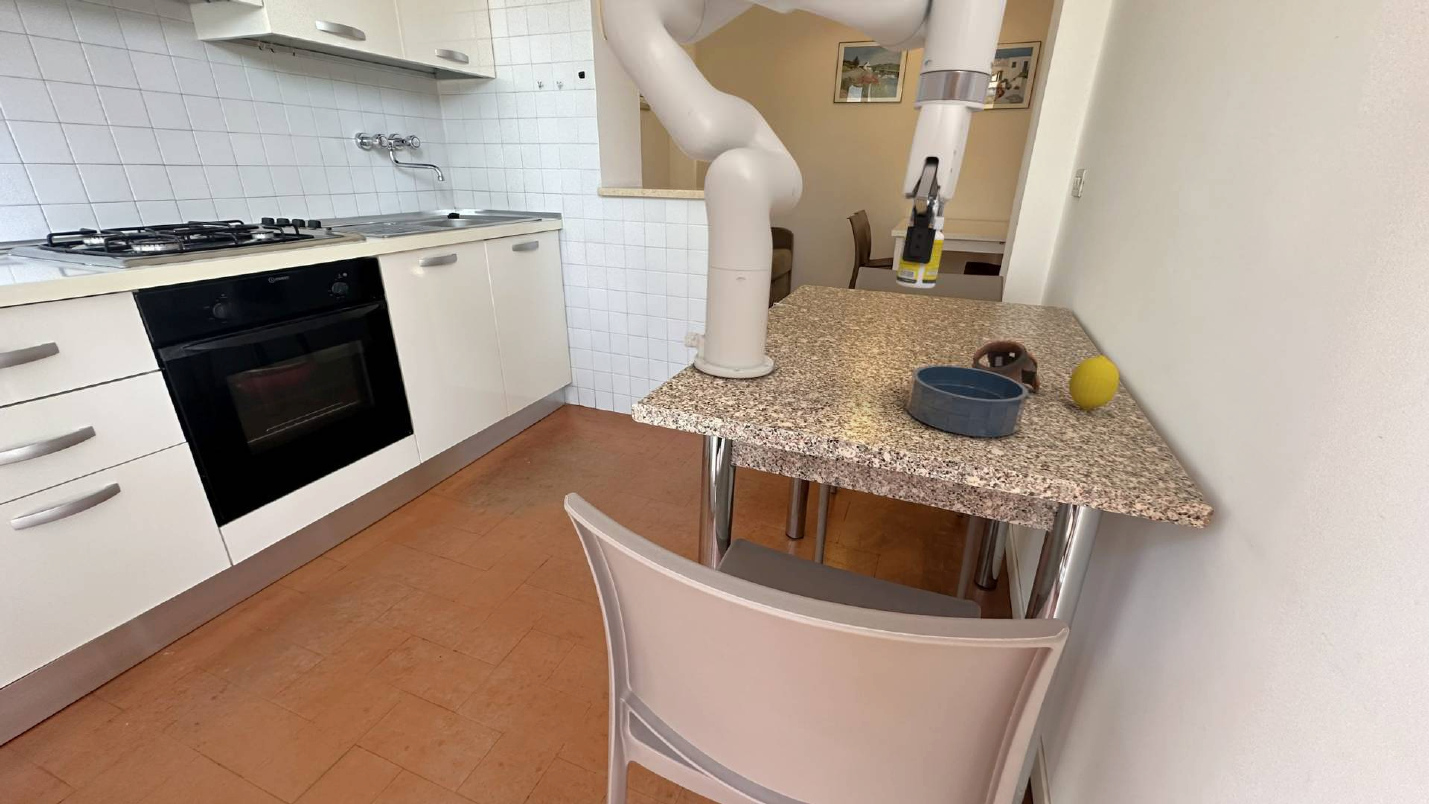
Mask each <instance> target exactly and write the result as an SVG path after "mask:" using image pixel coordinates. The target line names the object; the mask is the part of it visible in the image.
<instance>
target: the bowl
mask: <svg viewBox="0 0 1429 804" xmlns="http://www.w3.org/2000/svg"><path fill="white" fill-rule="evenodd" d="M1028 396H1029V389H1027V387H1026V386H1025V385H1024V384H1023V383H1022V384H1021V383H1019V382H1017V381H1015V380H1013V379H1011V378H1008V377H1005V376H1003V375H1000V374H997V373H993V372H989V371H985V370H981V369H975V368H972V367H969V366H960V365H950V364H949V365H948V364H942V365H941V364H940V365H939V364H935V365H926V366H922V367H919V368H916V369H914V370H913V372H912V374H911V379H910V385H909V391H908V395H907V400H906V401H907V402H906V409H907V412H908V413H909V414H910V415H912V416H913V417H914V418H915V419H916V420H918V421H921V422H922V423H924V424H926V425H928V426H931V427H933V428H937V429H940V430H942V431H946V432H949V433H953V434H957V435H963V436H970V437H980V438H981V437H982V438H991V437H992V438H993V437H995V438H996V437H998V438H999V437H1004V436H1009V435H1013V434H1015V432H1017V431H1018V430H1020V426H1021V423H1022V419H1023V414H1024V411H1025V407H1026V403H1027V400H1028Z"/></svg>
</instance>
